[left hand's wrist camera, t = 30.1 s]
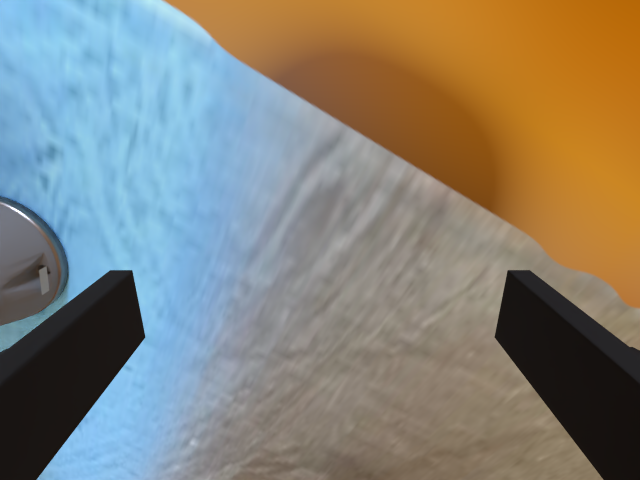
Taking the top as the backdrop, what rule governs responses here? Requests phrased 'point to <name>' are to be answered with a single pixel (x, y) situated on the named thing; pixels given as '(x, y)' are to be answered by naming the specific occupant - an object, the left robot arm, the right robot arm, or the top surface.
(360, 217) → the top surface
